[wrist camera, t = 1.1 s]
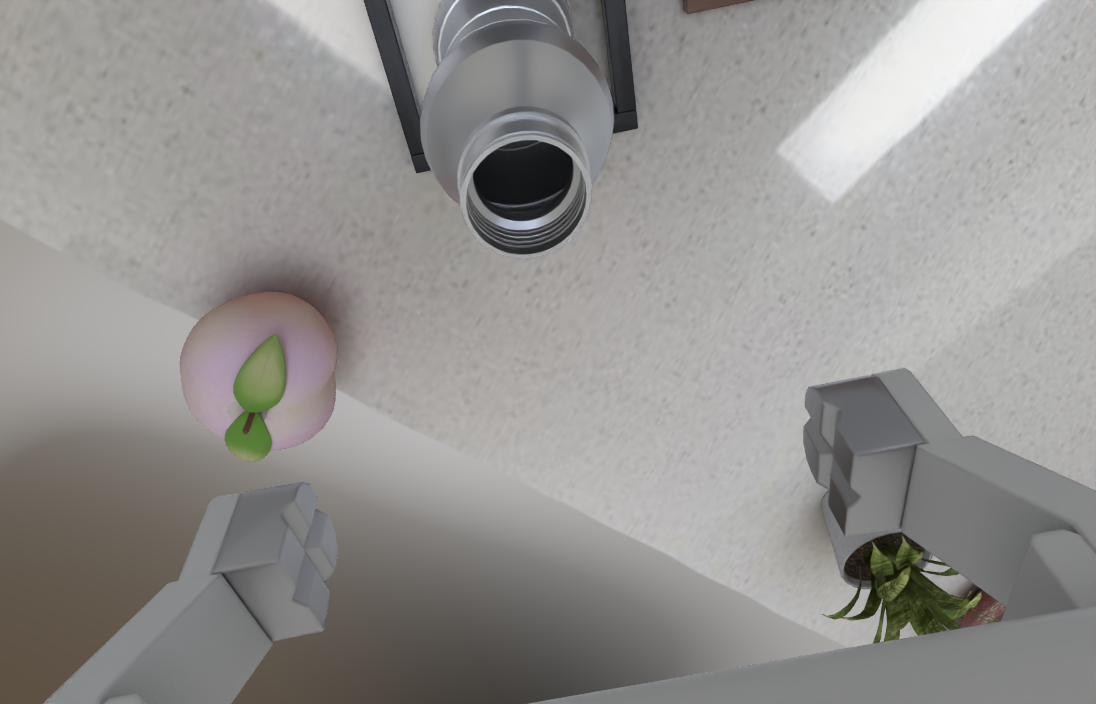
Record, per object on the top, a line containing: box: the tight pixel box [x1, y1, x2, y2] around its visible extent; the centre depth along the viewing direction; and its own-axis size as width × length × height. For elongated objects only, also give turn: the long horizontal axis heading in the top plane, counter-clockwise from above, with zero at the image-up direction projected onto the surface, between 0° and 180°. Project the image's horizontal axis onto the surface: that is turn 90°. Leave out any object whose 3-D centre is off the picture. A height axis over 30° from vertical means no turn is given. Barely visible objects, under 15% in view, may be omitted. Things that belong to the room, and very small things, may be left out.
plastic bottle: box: [420, 0, 614, 259], centre depth 28 cm, size 6×7×20 cm
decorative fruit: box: [180, 292, 337, 462], centre depth 41 cm, size 9×8×10 cm
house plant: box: [821, 491, 1001, 644], centre depth 53 cm, size 14×14×16 cm
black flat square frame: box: [364, 0, 638, 173], centre depth 35 cm, size 12×12×1 cm
